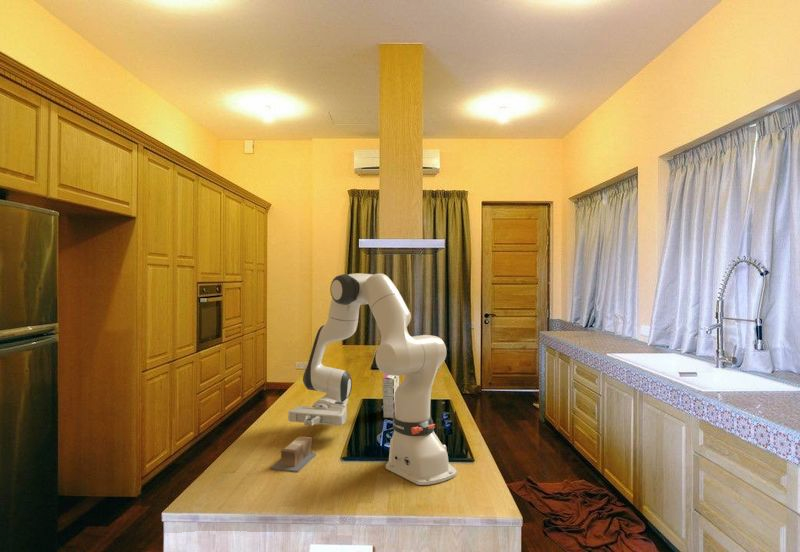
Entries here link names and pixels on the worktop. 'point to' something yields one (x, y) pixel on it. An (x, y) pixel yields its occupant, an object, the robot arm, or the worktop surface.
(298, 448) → the block
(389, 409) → the candy bar box
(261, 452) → the worktop surface
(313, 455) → the mat
